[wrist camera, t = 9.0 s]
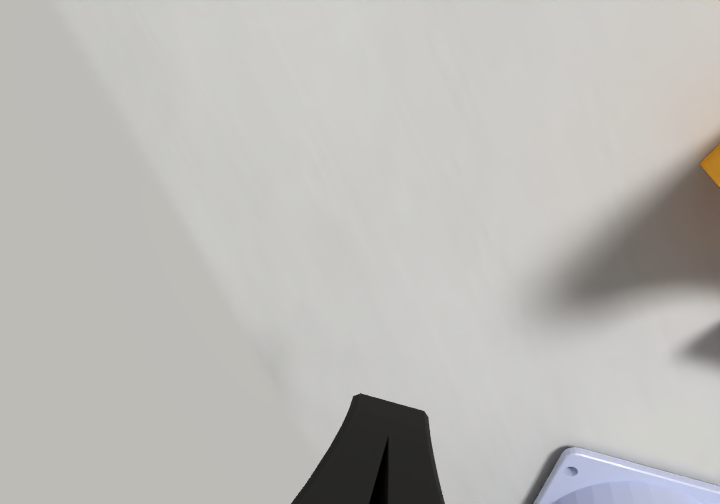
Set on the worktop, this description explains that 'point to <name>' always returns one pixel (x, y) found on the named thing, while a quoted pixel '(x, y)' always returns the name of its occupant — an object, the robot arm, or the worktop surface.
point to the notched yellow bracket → (713, 165)
